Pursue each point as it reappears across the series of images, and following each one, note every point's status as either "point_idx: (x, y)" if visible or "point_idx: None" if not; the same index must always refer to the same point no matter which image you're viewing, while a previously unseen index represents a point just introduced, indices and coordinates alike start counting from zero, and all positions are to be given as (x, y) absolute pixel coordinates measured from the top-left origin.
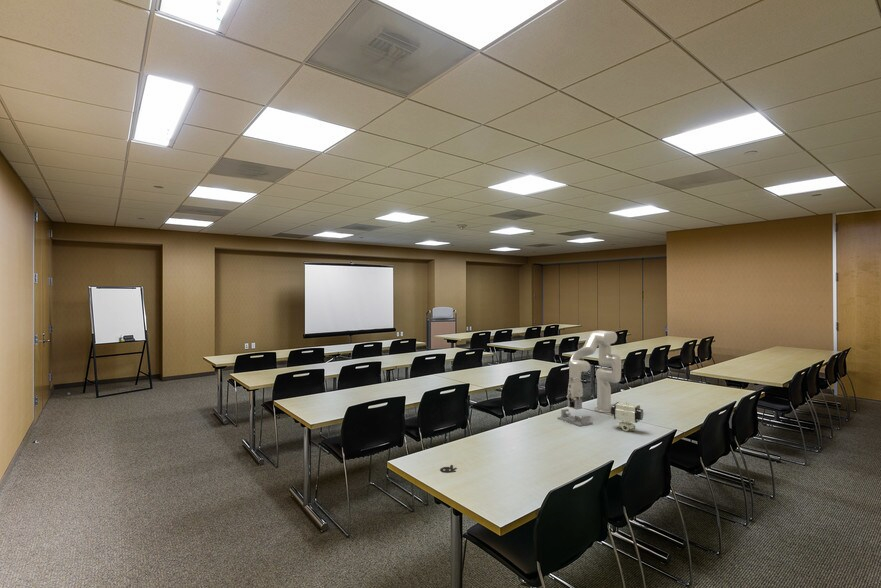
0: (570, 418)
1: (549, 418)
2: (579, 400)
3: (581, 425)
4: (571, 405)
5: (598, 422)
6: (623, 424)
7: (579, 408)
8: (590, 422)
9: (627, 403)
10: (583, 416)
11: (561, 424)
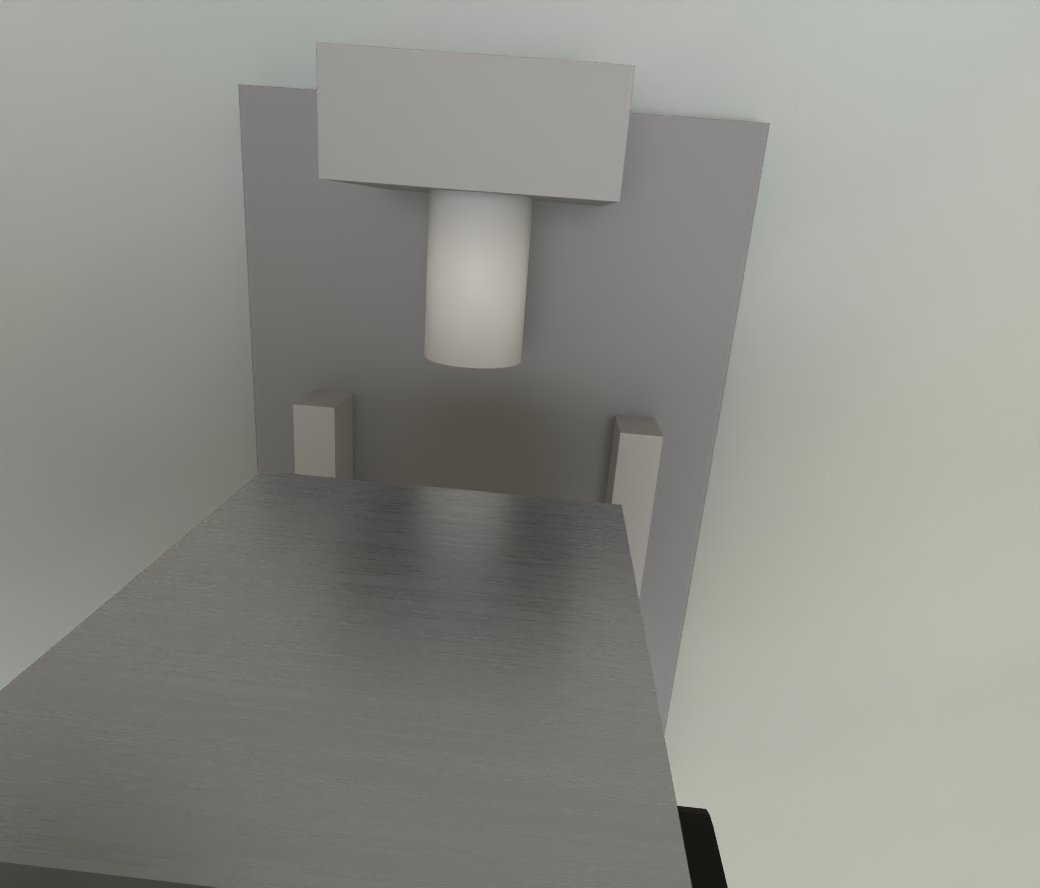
0: (631, 553)
1: (761, 883)
2: (247, 863)
3: (706, 122)
4: (712, 835)
5: (6, 105)
6: None
7: (420, 500)
8: (295, 127)
9: None
10: (613, 105)
11: (954, 517)
